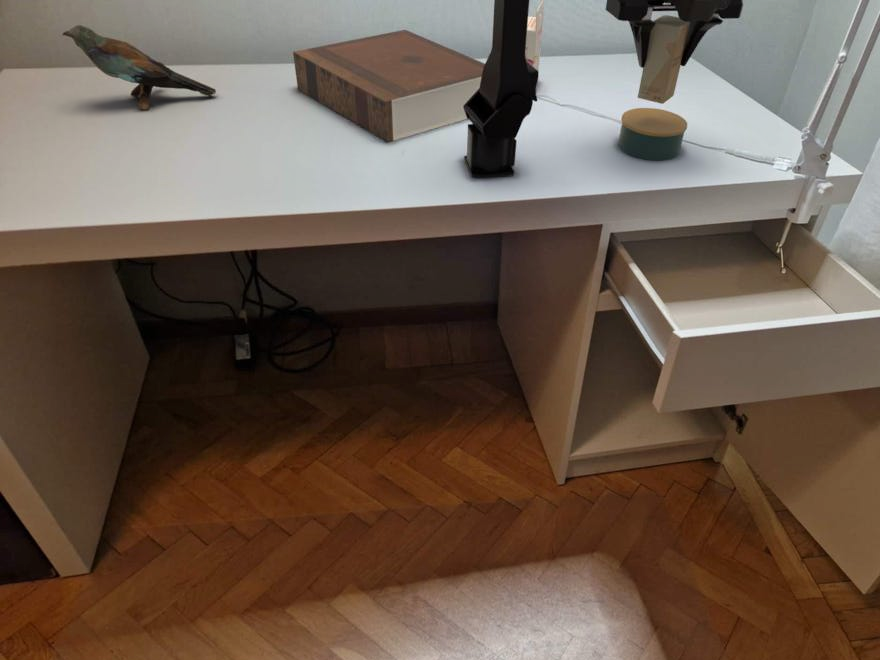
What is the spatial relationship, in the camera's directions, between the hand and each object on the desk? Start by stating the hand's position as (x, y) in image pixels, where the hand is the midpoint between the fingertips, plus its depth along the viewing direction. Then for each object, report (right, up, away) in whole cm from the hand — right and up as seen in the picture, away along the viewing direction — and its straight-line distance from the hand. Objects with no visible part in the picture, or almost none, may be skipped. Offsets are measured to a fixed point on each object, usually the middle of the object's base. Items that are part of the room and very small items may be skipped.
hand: (661, 66), depth 104 cm
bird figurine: (-84, 0, +15) cm, 85 cm away
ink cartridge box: (-20, +7, +27) cm, 34 cm away
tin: (0, -9, +9) cm, 13 cm away
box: (0, -4, +3) cm, 5 cm away
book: (-42, +3, +20) cm, 47 cm away
